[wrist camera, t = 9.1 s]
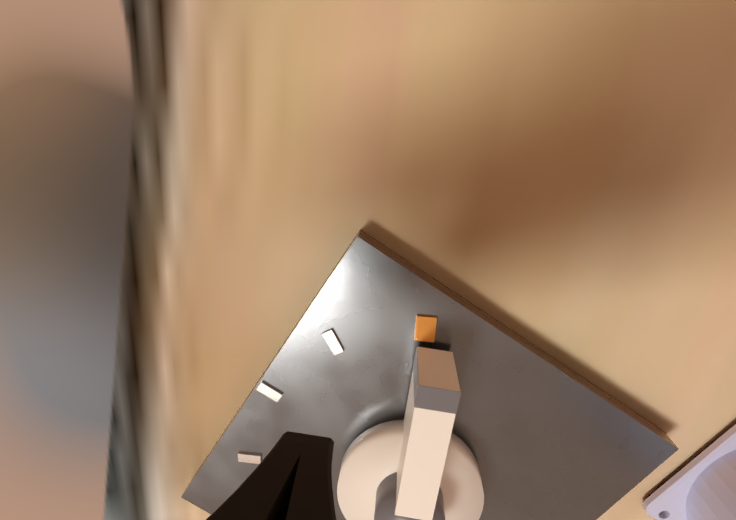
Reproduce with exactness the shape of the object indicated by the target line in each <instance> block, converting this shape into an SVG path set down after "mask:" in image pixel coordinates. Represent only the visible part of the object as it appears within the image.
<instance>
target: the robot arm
mask: <svg viewBox="0 0 736 520" xmlns="http://www.w3.org/2000/svg"><path fill="white" fill-rule="evenodd" d="M333 449H334V441H333V440H332V439H331V438H329V437H322V436H316V435H309V434H303V433H296V432H290V431H287V432H285V433H284V434H283V435H282V436H281V438H280V439H279V441H278V442H277V443H276V444H275V446H274V447H273V448H272V450H271V451H270V452H269V453H268V455H267V456H266V457H265V458H264V459H263V461H262V462H261V463H260V464H259V465H258V467H257V468H256V469H255V470H254V471H253V472H252V473H251V474H250V475H249V477H248V478H247V479H246V480H245V481H244V482H243V483H242V484H241V485H240V487H239V488H238V489H237V490H236V491H235V492H234V493H233V494H232V495H231V496H230V497H229V498H228V499H227V500H226V501H225V502H224V503H223V504H222V505H221V506H220V507H219V508H218V509H217V510H216V511H215V512H214V513H213V514H212V515H211V516H209V517H208V518H207V519H206V520H336V514H335V507H334V498H333V489H332V469H331V468H332V458H333ZM643 508H644V509H645V511H646V513H647V514H648V515H649V516H651V517H653V518H654V519H656V520H736V424H735V425H734V426H733V427H731V428H730V429H729V430H728V431H727V432H725V433H724V434H723V435H722V436H721V437H719V438H718V439H717V440H716V441H715V442H713V443H712V444H711V445H710V446H709V447H707V448H706V449H705V450H704V451H703V452H701V453H700V454H699V455H698V456H697V457H696V458H694V459H693V460H692V461H691V462H690V463H688V464H687V465H686V466H685V467H684V468H682V469H681V470H680V471H679V472H678V473H676V474H675V475H674V476H673V477H672V478H670V479H669V480H668V481H667V482H666V483H664V484H663V485H662V486H661V487H660V488H658V489H657V490H656V491H655V492H654V493H653V494H651V495H650V496H649V497H648V498H647V499H645V501H644V502H643Z"/></svg>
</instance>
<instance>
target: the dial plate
mask: <svg viewBox="0 0 736 520" xmlns="http://www.w3.org/2000/svg"><path fill="white" fill-rule="evenodd" d="M417 346H418V347H424V348H431V349H437V350H444V351H450V352H453V354H454V359H455V364H456V369H457V374H458V379H459V383H460V388H461V396H460V400H459V405H458V409H457V414H456V415H455V420H454V424H453V429H452V433H453V434H455V435H456V436H457V437H459V438H460V439H461V440H462V441H463V442H464V443H465V444H466V445H467V446H468V447H469V449H470V450H471V452H472V453H473V455H474V457H475V459H476V461H477V464H478V467H479V472H480V476H481V481H482V486H483V492H484V505H483V511H482V513H481V516H480V518H479V520H596V519H598V518H599V517H600V516H601V515H602V514H603V513H605V512H606V511H607V510H608V509H609V508H610V507H612V506H613V505H614V504H615V503H616V502H617V501H619V500H620V499H621V498H622V497H623V496H624V495H625V494H627V493H628V492H629V491H630V490H631V489H632V488H634V487H635V486H636V485H637V484H638V483H639V482H641V481H642V480H643V479H644V478H645V477H646V476H648V475H649V474H650V473H651V472H652V471H653V470H655V469H656V468H657V467H658V466H659V465H660V464H662V463H663V462H664V461H665V460H666V459H667V458H669V457H670V456H671V455H672V454H673V453H674V452H676V451H677V450H678V448H677V446H676V445H675V444H674V443H673V442H672V440H671V439H670V438H669V437H668V436H667V435H666V433H665V432H664V431H662V430H661V429H659V428H658V427H656V426H655V425H653V424H652V423H650V422H649V421H647V420H646V419H644V418H643V417H641V416H640V415H638V414H637V413H635V412H634V411H632V410H631V409H629V408H628V407H626V406H625V405H623V404H622V403H620V402H619V401H617V400H616V399H614V398H613V397H611V396H610V395H608V394H607V393H605V392H604V391H602V390H601V389H599V388H598V387H596V386H595V385H593V384H592V383H590V382H589V381H587V380H586V379H584V378H583V377H581V376H580V375H578V374H577V373H575V372H574V371H572V370H571V369H569V368H567V367H566V366H564V365H563V364H561V363H560V362H558V361H557V360H555V359H554V358H552V357H551V356H549V355H548V354H546V353H545V352H543V351H542V350H540V349H539V348H537V347H536V346H534V345H533V344H531V343H530V342H528V341H527V340H525V339H524V338H522V337H521V336H519V335H518V334H516V333H515V332H513V331H512V330H510V329H509V328H507V327H506V326H504V325H503V324H501V323H500V322H498V321H497V320H495V319H494V318H492V317H491V316H489V315H488V314H486V313H485V312H483V311H482V310H480V309H479V308H477V307H476V306H474V305H473V304H471V303H470V302H468V301H467V300H465V299H464V298H462V297H461V296H459V295H458V294H456V293H454V292H453V291H451V290H450V289H448V288H447V287H445V286H444V285H442V284H441V283H439V282H438V281H436V280H435V279H433V278H432V277H430V276H429V275H427V274H426V273H424V272H423V271H421V270H420V269H418V268H417V267H415V266H414V265H412V264H411V263H409V262H408V261H406V260H405V259H403V258H402V257H400V256H399V255H397V254H396V253H394V252H393V251H391V250H390V249H388V248H387V247H385V246H384V245H382V244H381V243H379V242H378V241H376V240H375V239H373V238H372V237H370V236H369V235H367V234H366V233H364V232H363V231H361V230H360V231H359V233H358V234H357V236H356V237H355V239H354V240H353V242H352V243H351V244H350V246H349V247H348V249H347V250H346V252H345V253H344V255H343V256H342V258H341V259H340V261H339V262H338V264H337V265H336V267H335V268H334V270H333V271H332V273H331V274H330V276H329V277H328V279H327V280H326V282H325V283H324V285H323V286H322V287H321V289H320V290H319V292H318V293H317V295H316V296H315V298H314V299H313V301H312V302H311V304H310V305H309V307H308V308H307V310H306V311H305V313H304V314H303V316H302V317H301V319H300V320H299V322H298V323H297V325H296V326H295V328H294V329H293V330H292V332H291V333H290V335H289V336H288V338H287V339H286V341H285V342H284V344H283V345H282V347H281V348H280V350H279V351H278V353H277V354H276V356H275V357H274V359H273V360H272V362H271V363H270V365H269V366H268V368H267V369H266V371H265V372H264V373H263V375H262V376H261V378H260V379H259V381H258V382H257V384H256V385H255V387H254V388H253V390H252V391H251V393H250V394H249V396H248V397H247V399H246V400H245V402H244V403H243V405H242V406H241V408H240V409H239V411H238V412H237V413H236V415H235V416H234V418H233V419H232V421H231V422H230V424H229V425H228V427H227V428H226V430H225V431H224V433H223V434H222V436H221V437H220V439H219V440H218V442H217V443H216V445H215V446H214V448H213V449H212V451H211V452H210V454H209V455H208V456H207V458H206V459H205V461H204V462H203V464H202V465H201V467H200V468H199V470H198V471H197V473H196V474H195V476H194V477H193V479H192V480H191V482H190V483H189V485H188V487H187V488H186V490H185V492H184V493H183V495H182V498H184V499H185V500H187V501H189V502H191V503H192V504H194V505H196V506H198V507H199V508H201V509H203V510H205V511H206V512H208V513H210V514H213V513H214V512H215V511H216V510H217V509H218V508H219V507H220V506H221V505H222V504H223V503H224V502H225V501H226V500H227V499H228V498H229V497H230V496H231V495H232V494H233V493H234V492H235V491H236V490H237V489H238V488H239V487H240V485H241V484H242V483H243V482H244V481H245V480H246V479H247V478H248V477H249V475H250V474H251V473H252V472H253V471H254V470H255V469H256V468H257V467H258V465H259V464H260V463H261V462H262V461H263V459H264V458H265V457H266V456H267V455H268V453H269V452H270V451H271V450H272V448H273V447H274V446H275V444H276V443H277V442H278V441H279V439H280V438H281V436H282V435H283V434H284V433H285V432H287V431H290V432H296V433H303V434H309V435H316V436H322V437H329V438H331V439H332V440H333V441H334V449H333V458H332V468H331V469H332V489H333V498H334V507H335V514H336V520H346V519H345V517H344V515H343V513H342V511H341V509H340V506H339V503H338V497H337V485H338V479H339V474H340V469H341V464H342V460H343V457H344V454H345V452H346V450H347V449H348V447H349V446H350V444H351V443H352V442H353V441H354V440H355V439H356V438H357V437H358V436H359V435H360V434H362V433H363V432H364V431H366V430H368V429H369V428H371V427H373V426H376V425H378V424H381V423H384V422H389V421H394V420H404V417H405V411H406V405H407V400H408V394H409V389H410V383H411V377H412V372H413V363H414V358H415V352H416V347H417Z"/></svg>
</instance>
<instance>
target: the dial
mask: <svg viewBox="0 0 736 520" xmlns="http://www.w3.org/2000/svg"><path fill="white" fill-rule="evenodd" d="M460 396H461V388H460V383H459V379H458V374H457V369H456V364H455V359H454V354H453V352H450V351H444V350H437V349H431V348H424V347H418V346H417V347H416V352H415V358H414V363H413V372H412V377H411V383H410V389H409V394H408V400H407V405H406V411H405V417H404V420H394V421H389V422H384V423H381V424H378V425H376V426H373V427H371V428H369V429H368V430H366V431H364V432H363V433H362V434H360V435H359V436H358V437H357V438H356V439H355V440H354V441H353V442H352V443H351V444H350V446H349V447H348V449H347V450H346V452H345V454H344V457H343V460H342V464H341V469H340V474H339V479H338V485H337V497H338V503H339V506H340V509H341V511H342V513H343V515H344V517H345V519H346V520H479V518H480V516H481V513H482V511H483V505H484V492H483V486H482V481H481V476H480V472H479V467H478V464H477V461H476V459H475V457H474V455H473V453H472V452H471V450H470V449H469V447H468V446H467V445H466V444H465V443H464V442H463V441H462V440H461V439H460V438H459V437H457V436H456V435H455V434H453V433H452V429H453V424H454V420H455V415H456V414H457V409H458V405H459V400H460Z"/></svg>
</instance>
